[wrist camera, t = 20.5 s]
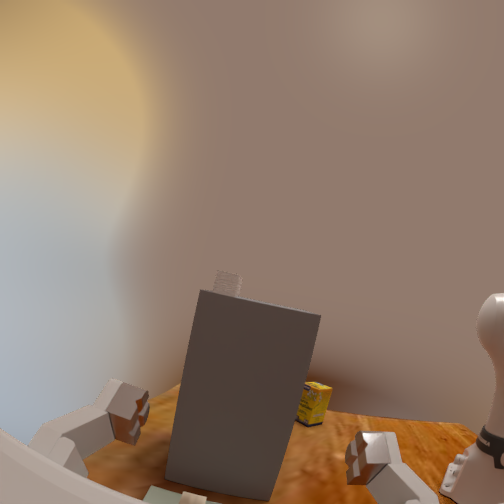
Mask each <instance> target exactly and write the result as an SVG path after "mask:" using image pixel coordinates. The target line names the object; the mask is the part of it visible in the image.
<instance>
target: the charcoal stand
mask: <svg viewBox="0 0 504 504" xmlns="http://www.w3.org/2000/svg"><path fill="white" fill-rule="evenodd" d="M320 318H321V315H318V314H315V313H311V312H308V311H304V310H301V309H296V308H291V307H286V306H281V305H276V304H271V303H266V302H261V301H257V300H252V299H248V298H243V297H231V296H226V295H222V294H218V293H213V291H209V290H200V293H199V298H198V302H197V307H196V312H195V316H194V321H193V326H192V330H191V335H190V340H189V345H188V350H187V355H186V360H185V365H184V370H183V376H182V380H181V386H180V391H179V396H178V402H177V407H176V413H175V418H174V424H173V430H172V436H171V442H170V448H169V454H168V460H167V466H166V473H165V479H166V480H170V481H173V482H177V483H180V484H184V485H188V486H192V487H196V488H200V489H204V490H208V491H213V492H217V493H222V494H227V495H233V496H238V497H244V498H251V499H257V500H265V501H269V500H270V497H271V494H272V491H273V489H274V486H275V483H276V480H277V477H278V474H279V471H280V468H281V464H282V461H283V458H284V455H285V452H286V449H287V445H288V442H289V439H290V435H291V432H292V429H293V425H294V422H295V418H296V415H297V411H298V408H299V404H300V400H301V397H302V393H303V389H304V385H305V381H306V377H307V373H308V370H309V365H310V362H311V358H312V353H313V349H314V345H315V340H316V336H317V332H318V327H319V323H320Z"/></svg>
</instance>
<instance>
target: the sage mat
mask: <svg viewBox="0 0 504 504" xmlns="http://www.w3.org/2000/svg"><path fill="white" fill-rule="evenodd" d="M181 496H182V494H178V493H175V492H171V491H168V490H165V489H161V488H158V487H155V486H152V485H151V487H150V489H149V490H148V492H147V494H146V496H145V497H144V499H143V501H145V502H148V503H151V504H179V501H180V499H181ZM205 504H221V503H216V502H211V501H207V500H206V503H205Z"/></svg>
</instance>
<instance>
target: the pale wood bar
mask: <svg viewBox="0 0 504 504" xmlns="http://www.w3.org/2000/svg"><path fill="white" fill-rule="evenodd" d="M242 281H243V279H242V278H241V277H240V275H237V274H232V273H228V272H223V271H219V270H218V271H217V274H216V279H215V283H214V288H213V293H218V294H222V295H226V296H231V297H239V294H240V290H241V285H242Z"/></svg>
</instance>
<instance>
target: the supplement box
mask: <svg viewBox="0 0 504 504" xmlns="http://www.w3.org/2000/svg"><path fill="white" fill-rule="evenodd" d="M331 392H332V388H331V387H327V386H325V385H322V384H320V383H318V382H305V385H304V389H303V393H302V397H301V400H300V404H299V408H298V411H297V415H296V418H295V420H296V421H298V422H300V423H302V424H304V425H305V426H307V427H311V426H316V425H320V424H322V422H323V419H324V416H325V413H326V410H327V406H328V403H329V399H330V396H331Z"/></svg>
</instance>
